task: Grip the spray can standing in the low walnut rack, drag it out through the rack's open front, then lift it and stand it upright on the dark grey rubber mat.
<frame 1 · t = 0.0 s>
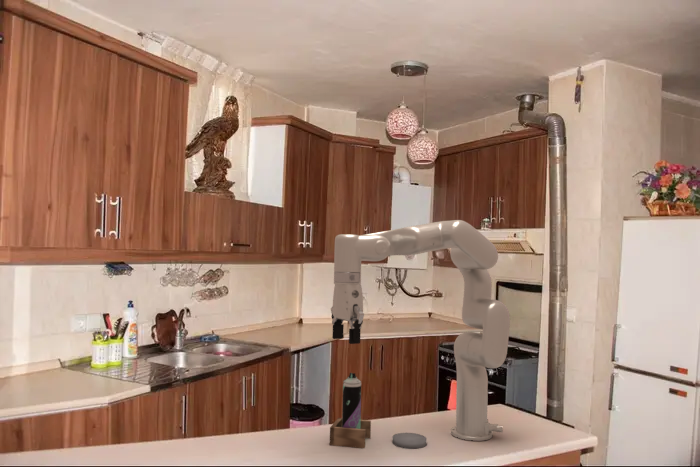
hand: (346, 341, 155), 31 cm above the counter, tool pointing down, fingers open, 9 cm apart
spray can: (350, 441, 166), on the counter
mat: (409, 443, 166), on the counter
rack: (350, 441, 166), on the counter
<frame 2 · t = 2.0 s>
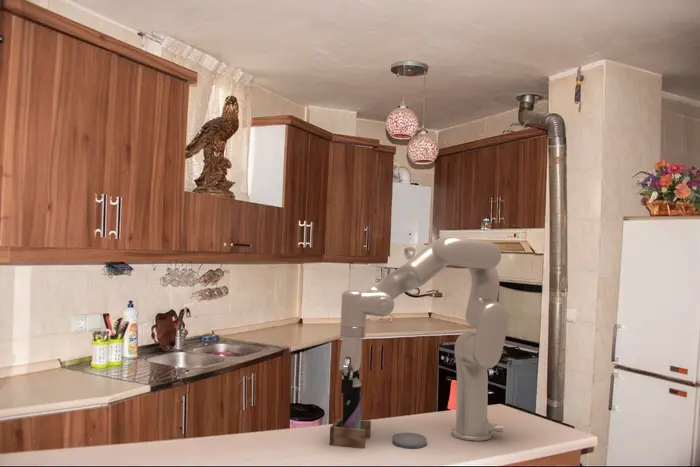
hand: (350, 390, 167), 15 cm above the counter, tool pointing down, fingers open, 9 cm apart
nothing on the counter moved.
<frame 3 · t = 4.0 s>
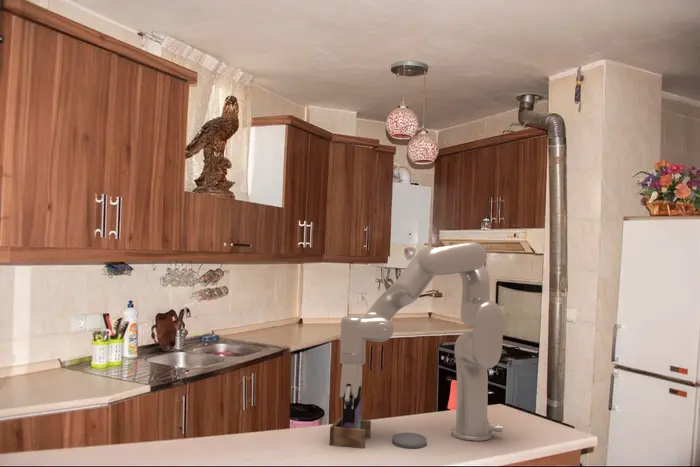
hand: (351, 418, 167), 6 cm above the counter, tool pointing down, fingers closed on spray can, 5 cm apart
spray can: (350, 441, 166), on the counter, touching gripper
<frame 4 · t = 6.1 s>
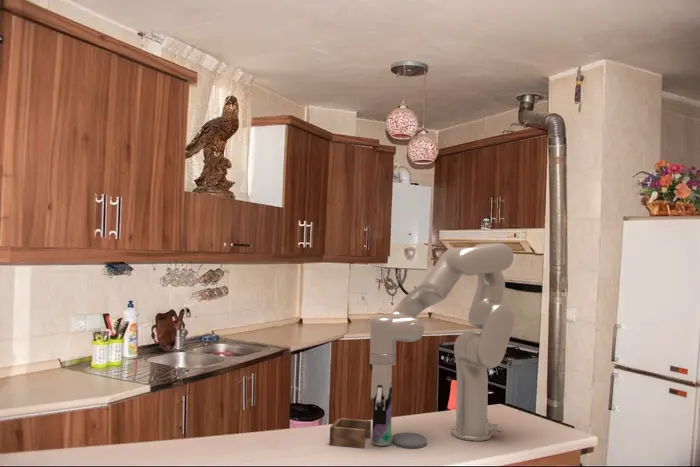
hand: (382, 420, 165), 7 cm above the counter, tool pointing down, fingers closed on spray can, 5 cm apart
spray can: (381, 443, 165), on the counter, touching gripper
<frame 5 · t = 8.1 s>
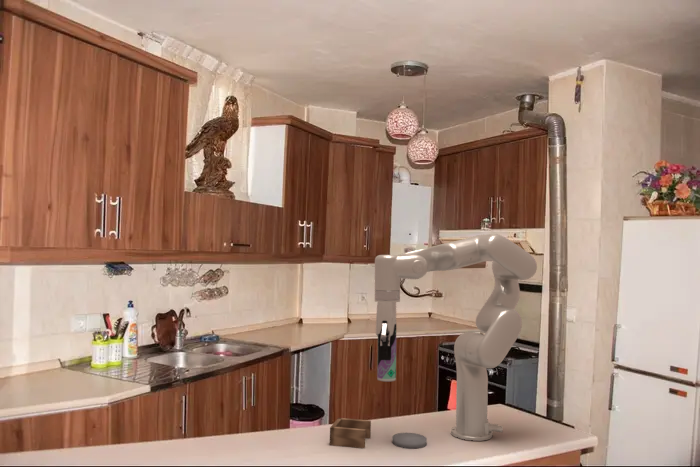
hand: (387, 357, 166), 25 cm above the counter, tool pointing down, fingers closed on spray can, 5 cm apart
spray can: (386, 380, 166), point 18 cm above the counter, touching gripper
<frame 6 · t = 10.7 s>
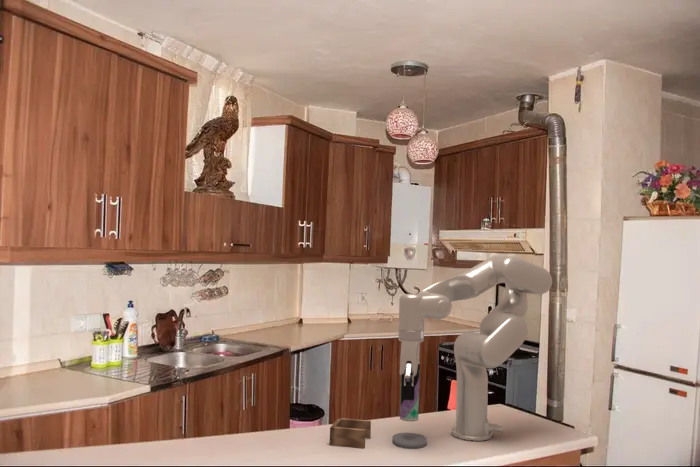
hand: (409, 396, 166), 13 cm above the counter, tool pointing down, fingers closed on spray can, 5 cm apart
spray can: (408, 419, 166), point 7 cm above the counter, touching gripper
when the fingers open (9 cm above the counter, at t = 12.4 s): spray can drops 1 cm, resting on mat.
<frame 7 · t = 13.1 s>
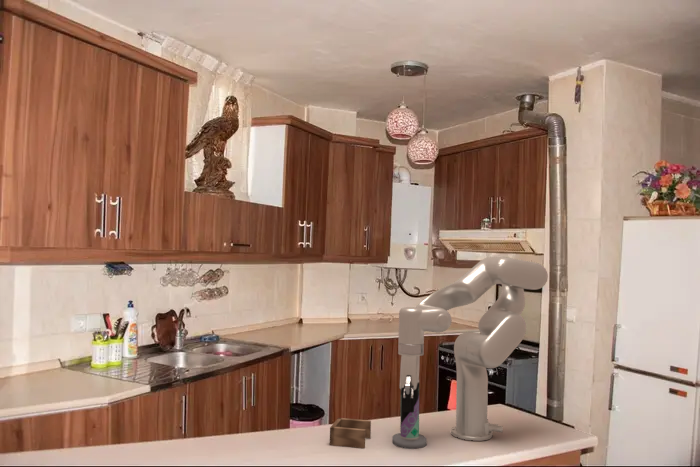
hand: (409, 407, 166), 10 cm above the counter, tool pointing down, fingers open, 9 cm apart
spray can: (409, 438, 166), point 1 cm above the counter, touching mat
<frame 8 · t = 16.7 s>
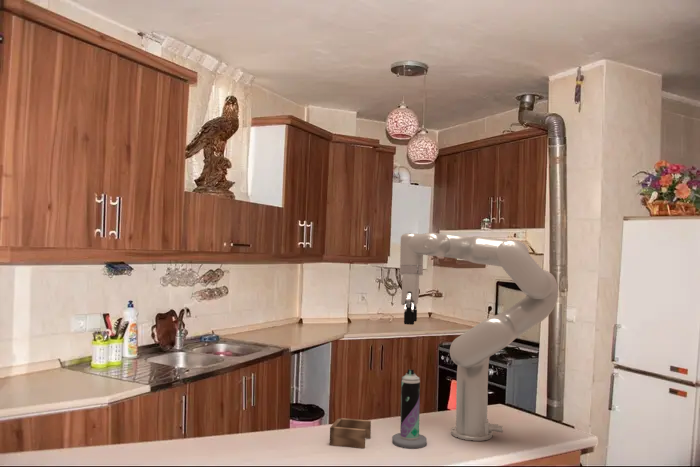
hand: (410, 322, 185), 33 cm above the counter, tool pointing down, fingers open, 9 cm apart
nothing on the counter moved.
at the end: spray can 0.1 cm off-centre on the mat, point 1.3 cm above the mat's base; spray can tilted 0°; the gripper is holding nothing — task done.
